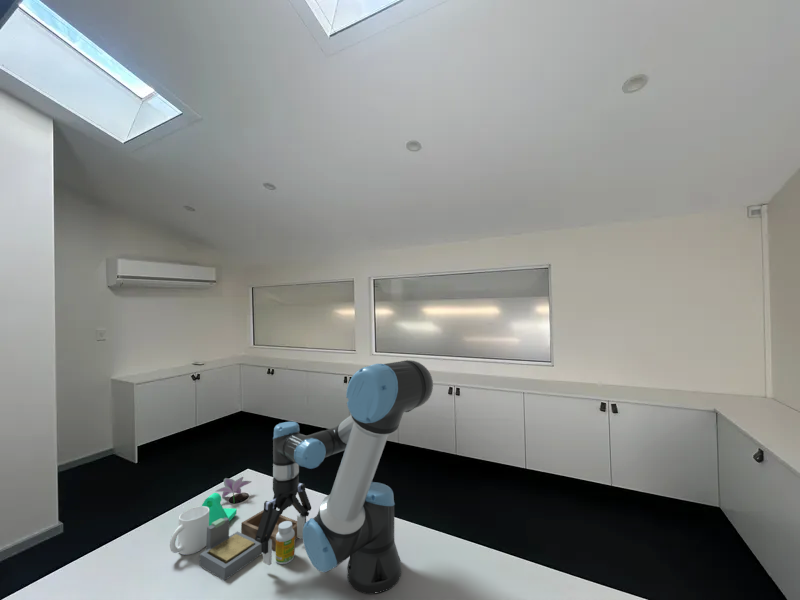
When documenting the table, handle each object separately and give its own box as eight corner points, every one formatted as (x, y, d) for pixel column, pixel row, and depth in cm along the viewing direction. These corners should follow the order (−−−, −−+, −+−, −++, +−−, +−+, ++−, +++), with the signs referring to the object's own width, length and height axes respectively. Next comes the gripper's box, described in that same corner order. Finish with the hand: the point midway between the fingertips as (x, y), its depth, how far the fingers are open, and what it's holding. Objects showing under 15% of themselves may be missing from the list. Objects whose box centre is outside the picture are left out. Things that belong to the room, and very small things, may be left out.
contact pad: (253, 547, 100) (254, 542, 100) (226, 566, 93) (226, 560, 93) (235, 538, 104) (236, 534, 105) (208, 555, 97) (208, 550, 97)
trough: (301, 535, 109) (301, 522, 110) (277, 552, 101) (278, 538, 101) (265, 520, 118) (265, 508, 118) (241, 535, 110) (241, 522, 110)
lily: (255, 496, 137) (252, 472, 141) (243, 498, 127) (240, 472, 131) (226, 508, 135) (224, 483, 140) (211, 511, 125) (209, 484, 129)
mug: (179, 566, 96) (181, 529, 97) (159, 561, 98) (160, 525, 99) (214, 541, 107) (215, 508, 108) (195, 536, 110) (196, 504, 110)
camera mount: (237, 515, 122) (238, 487, 123) (225, 528, 114) (226, 497, 115) (206, 515, 122) (207, 486, 123) (192, 527, 115) (193, 497, 116)
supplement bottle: (283, 567, 95) (283, 532, 96) (271, 560, 98) (272, 526, 98) (298, 556, 99) (298, 522, 100) (286, 550, 102) (286, 517, 103)
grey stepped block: (261, 553, 101) (262, 522, 101) (224, 580, 90) (225, 545, 91) (233, 539, 108) (234, 510, 108) (195, 563, 97) (196, 530, 98)
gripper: (306, 458, 113) (305, 524, 111) (242, 490, 92) (240, 571, 90) (322, 463, 109) (322, 531, 107) (259, 496, 88) (258, 581, 86)
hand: (285, 549), depth 99 cm, fingers open, 12 cm apart
